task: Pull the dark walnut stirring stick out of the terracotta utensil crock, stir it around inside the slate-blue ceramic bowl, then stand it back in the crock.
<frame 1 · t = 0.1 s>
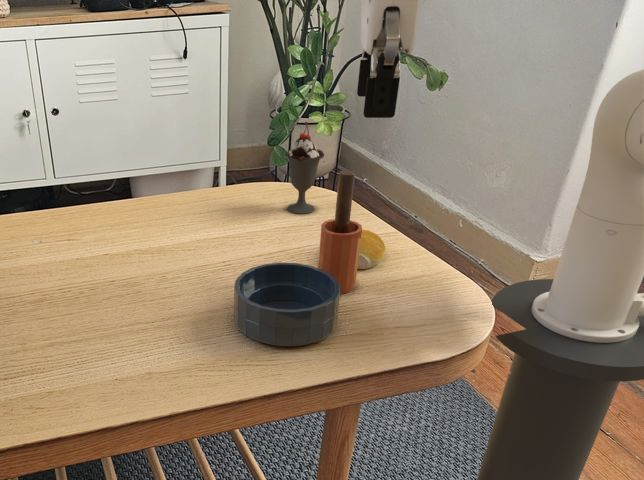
hand: (374, 105, 73), 26 cm above the table, tool pointing down, fingers open, 9 cm apart
bowl: (284, 322, 85), on the table
sundae: (300, 209, 118), on the table
stirring stick: (335, 281, 93), resting on crock
crock: (335, 285, 93), on the table
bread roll: (356, 259, 100), on the table
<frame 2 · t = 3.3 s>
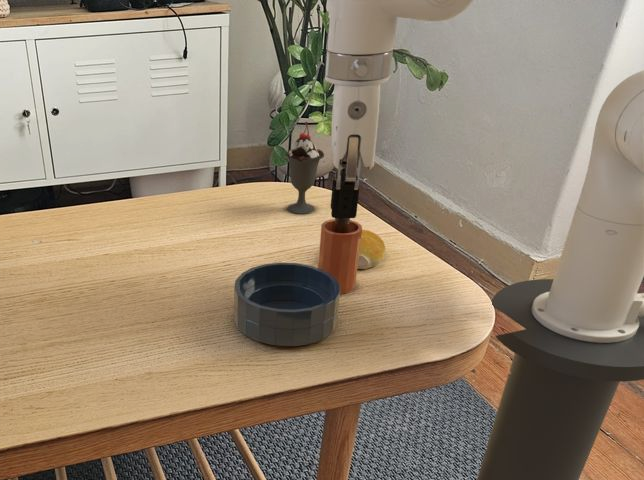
hand: (343, 212, 87), 11 cm above the table, tool pointing down, fingers closed on stirring stick, 2 cm apart
stirring stick: (335, 281, 93), point 1 cm above the table, touching crock, gripper
everything else where it was.
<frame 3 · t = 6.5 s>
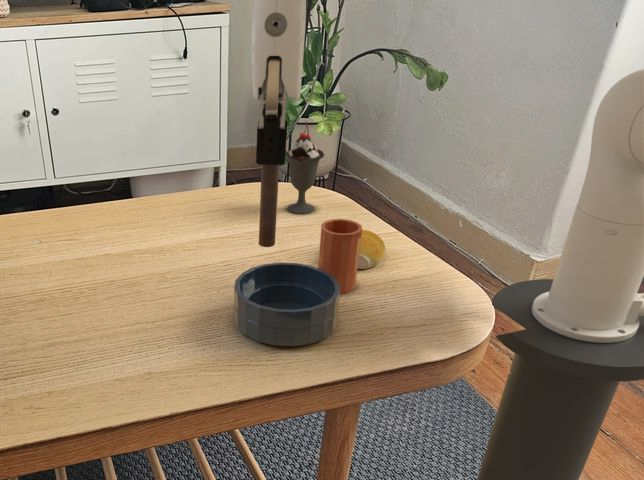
hand: (270, 158, 74), 22 cm above the table, tool pointing down, fingers closed on stirring stick
stirring stick: (266, 244, 79), point 11 cm above the table, touching gripper
everything else where it was.
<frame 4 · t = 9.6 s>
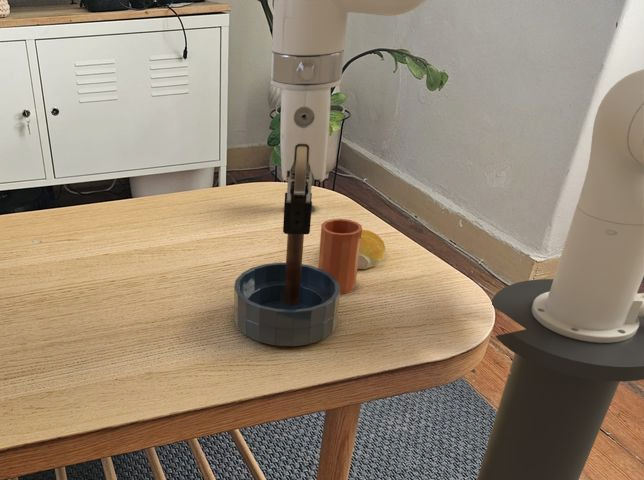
hand: (296, 227, 79), 13 cm above the table, tool pointing down, fingers closed on stirring stick, 2 cm apart
stirring stick: (291, 302, 85), point 2 cm above the table, touching gripper
everything else where it was.
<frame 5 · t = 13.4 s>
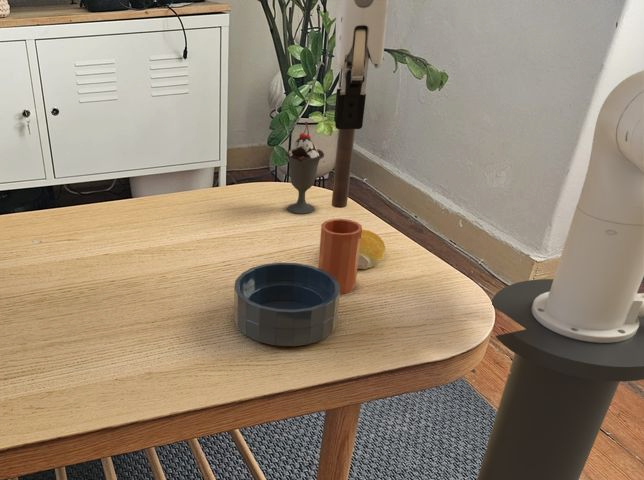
hand: (347, 124, 80), 23 cm above the table, tool pointing down, fingers closed on stirring stick
stirring stick: (339, 205, 86), point 12 cm above the table, touching gripper
everything else where it was.
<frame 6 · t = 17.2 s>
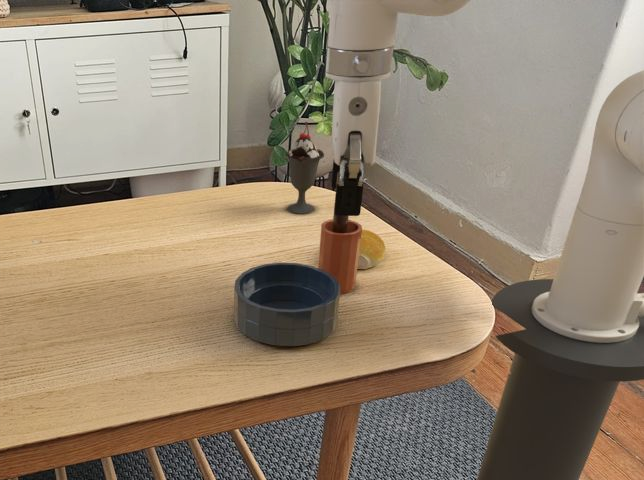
hand: (344, 200, 86), 13 cm above the table, tool pointing down, fingers open, 9 cm apart
stirring stick: (334, 281, 93), resting on crock
everything else where it was.
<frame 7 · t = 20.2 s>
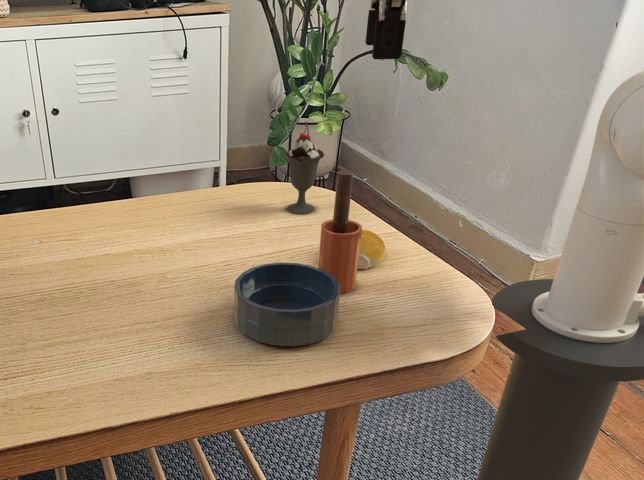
hand: (381, 51, 79), 30 cm above the table, tool pointing down, fingers open, 9 cm apart
nothing on the table moved.
at the end: stirring stick 0.2 cm off-centre in the crock, point 0.5 cm above the crock's base; the gripper is holding nothing; sundae moved 0.2 cm from its start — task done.
